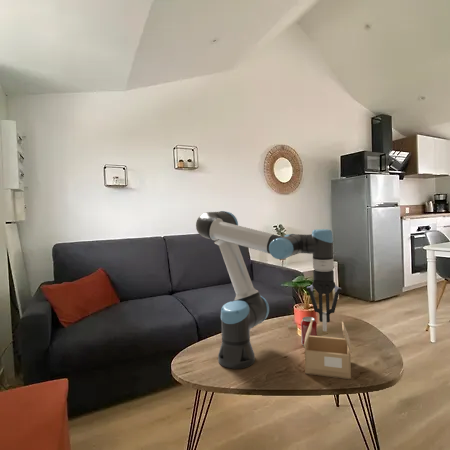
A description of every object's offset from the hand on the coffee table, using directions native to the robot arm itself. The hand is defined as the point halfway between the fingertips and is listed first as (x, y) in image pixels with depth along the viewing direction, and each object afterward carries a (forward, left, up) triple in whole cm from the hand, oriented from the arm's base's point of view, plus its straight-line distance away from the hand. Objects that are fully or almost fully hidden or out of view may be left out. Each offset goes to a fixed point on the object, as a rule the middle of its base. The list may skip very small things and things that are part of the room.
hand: (324, 329), depth 123 cm
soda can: (-7, +19, -15) cm, 25 cm away
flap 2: (+8, 0, -2) cm, 8 cm away
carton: (+1, 0, -15) cm, 15 cm away
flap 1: (-6, 0, -2) cm, 6 cm away
